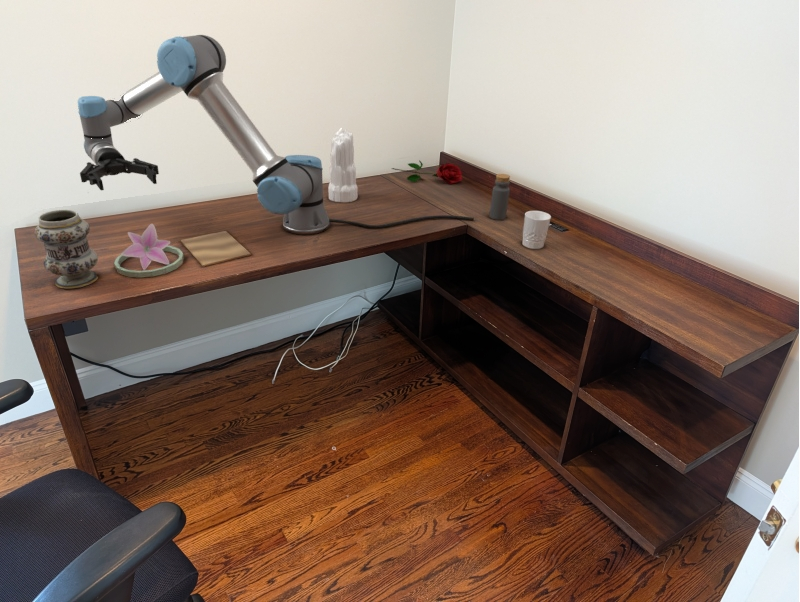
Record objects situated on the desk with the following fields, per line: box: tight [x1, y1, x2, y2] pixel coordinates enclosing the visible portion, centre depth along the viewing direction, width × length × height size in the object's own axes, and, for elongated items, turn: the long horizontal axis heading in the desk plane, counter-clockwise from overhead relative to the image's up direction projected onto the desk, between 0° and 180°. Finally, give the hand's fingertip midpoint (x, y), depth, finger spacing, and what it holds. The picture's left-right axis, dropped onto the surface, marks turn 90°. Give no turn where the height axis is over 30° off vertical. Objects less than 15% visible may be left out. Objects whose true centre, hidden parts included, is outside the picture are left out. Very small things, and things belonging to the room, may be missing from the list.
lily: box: [121, 223, 171, 271], centre depth 147 cm, size 12×12×10 cm
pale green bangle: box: [113, 245, 185, 279], centre depth 148 cm, size 17×17×2 cm
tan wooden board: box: [180, 230, 252, 267], centre depth 158 cm, size 20×14×1 cm
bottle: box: [489, 173, 511, 221], centre depth 185 cm, size 6×6×15 cm
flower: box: [391, 160, 463, 185], centre depth 220 cm, size 9×10×30 cm
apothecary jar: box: [34, 209, 99, 290], centre depth 134 cm, size 12×12×18 cm
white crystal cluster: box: [327, 127, 359, 204], centre depth 195 cm, size 11×11×25 cm
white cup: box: [521, 210, 552, 250], centre depth 167 cm, size 8×8×10 cm
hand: (128, 182), depth 145 cm, fingers open, 13 cm apart
